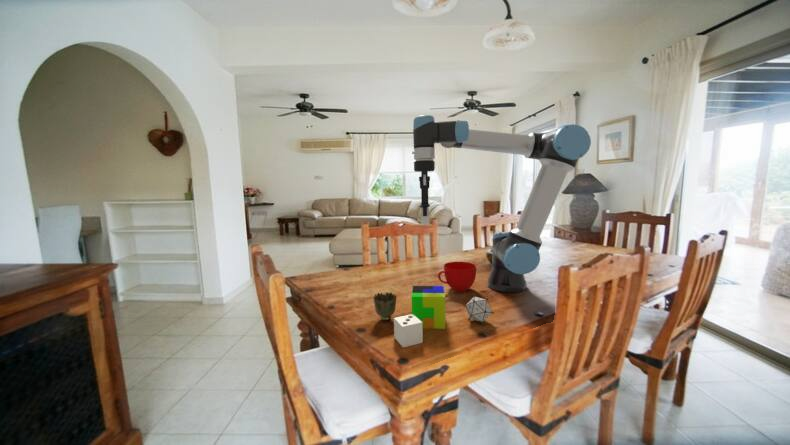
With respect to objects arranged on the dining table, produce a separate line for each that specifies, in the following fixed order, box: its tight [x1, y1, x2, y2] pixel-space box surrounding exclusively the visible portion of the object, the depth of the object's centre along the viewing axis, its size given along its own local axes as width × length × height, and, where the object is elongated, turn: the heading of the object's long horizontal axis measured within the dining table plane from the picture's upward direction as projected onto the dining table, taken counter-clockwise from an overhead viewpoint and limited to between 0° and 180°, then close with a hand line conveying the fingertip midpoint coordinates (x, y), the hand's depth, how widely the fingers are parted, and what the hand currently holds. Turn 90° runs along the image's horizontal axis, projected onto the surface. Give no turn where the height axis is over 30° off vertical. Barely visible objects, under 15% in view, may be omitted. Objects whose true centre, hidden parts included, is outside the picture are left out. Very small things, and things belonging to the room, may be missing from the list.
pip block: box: [393, 313, 424, 348], centre depth 86 cm, size 6×6×6 cm
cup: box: [373, 292, 397, 322], centre depth 99 cm, size 8×7×8 cm
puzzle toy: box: [411, 285, 446, 330], centre depth 98 cm, size 10×10×10 cm
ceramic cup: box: [437, 261, 477, 293], centre depth 125 cm, size 13×17×10 cm
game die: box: [462, 293, 495, 325], centre depth 97 cm, size 9×8×10 cm
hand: (425, 224), depth 115 cm, fingers closed
